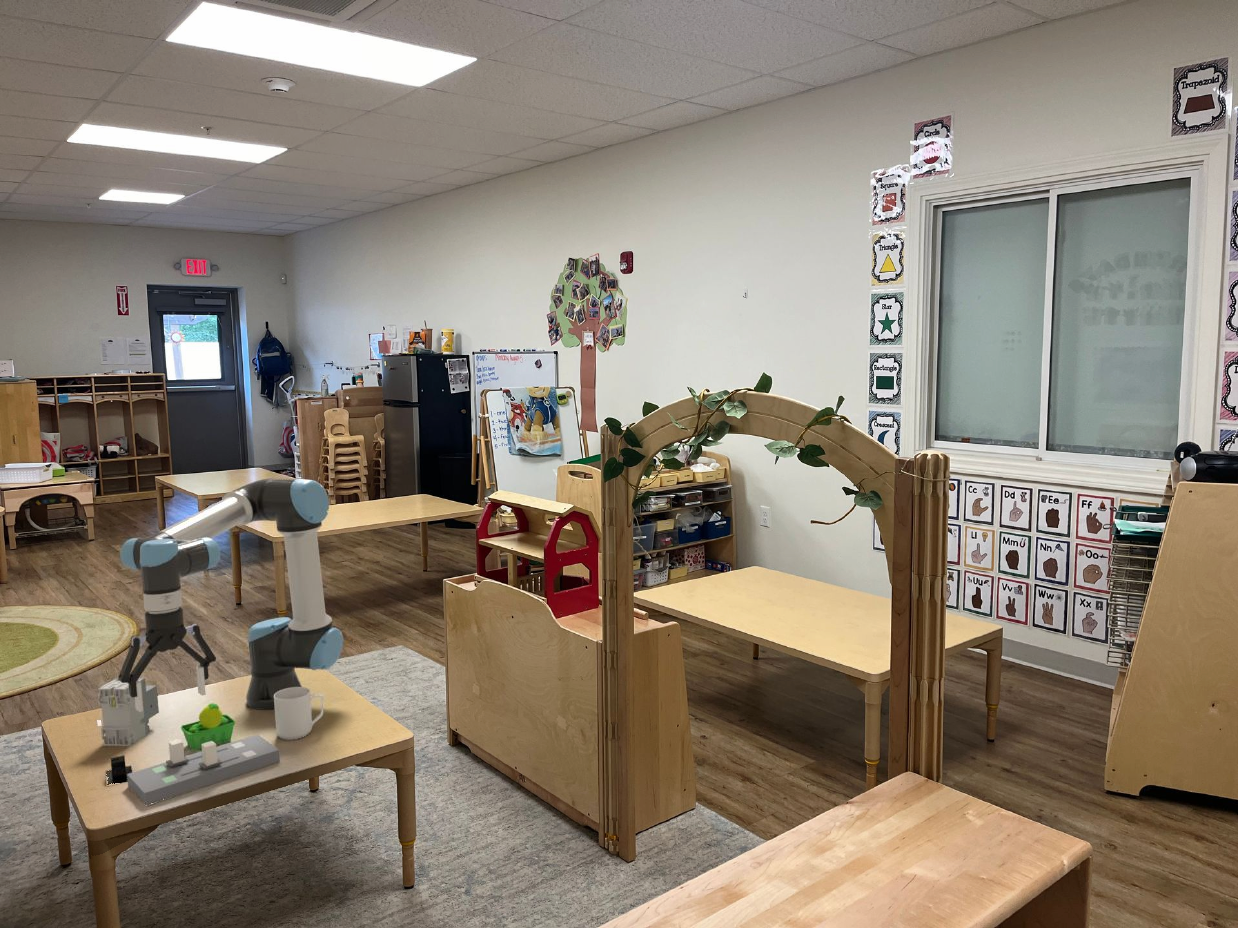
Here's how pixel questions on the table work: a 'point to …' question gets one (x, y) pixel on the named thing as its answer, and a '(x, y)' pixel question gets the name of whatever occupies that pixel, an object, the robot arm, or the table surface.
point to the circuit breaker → (125, 712)
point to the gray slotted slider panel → (202, 770)
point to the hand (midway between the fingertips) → (171, 701)
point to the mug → (294, 712)
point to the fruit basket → (209, 728)
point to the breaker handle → (176, 753)
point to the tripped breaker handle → (209, 755)
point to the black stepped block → (118, 770)
